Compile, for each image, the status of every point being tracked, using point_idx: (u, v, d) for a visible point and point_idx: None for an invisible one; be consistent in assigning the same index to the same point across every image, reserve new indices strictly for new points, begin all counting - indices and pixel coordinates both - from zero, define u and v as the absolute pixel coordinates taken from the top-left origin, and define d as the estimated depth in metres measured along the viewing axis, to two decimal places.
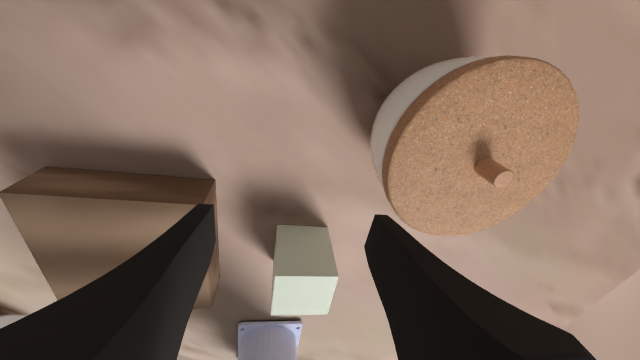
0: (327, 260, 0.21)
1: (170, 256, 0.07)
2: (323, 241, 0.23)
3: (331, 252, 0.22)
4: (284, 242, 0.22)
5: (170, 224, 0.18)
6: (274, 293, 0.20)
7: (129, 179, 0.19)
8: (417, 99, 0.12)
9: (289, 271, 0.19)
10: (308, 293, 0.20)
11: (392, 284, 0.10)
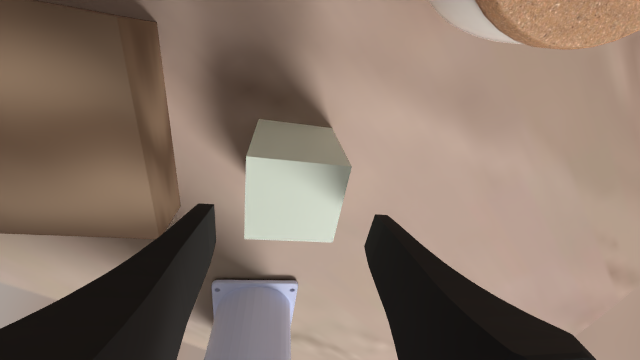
0: (332, 151, 0.13)
1: (170, 256, 0.07)
2: (327, 137, 0.15)
3: (339, 146, 0.14)
4: (267, 131, 0.14)
5: (65, 59, 0.10)
6: (247, 194, 0.12)
7: None
8: None
9: (271, 154, 0.12)
10: (302, 198, 0.13)
11: (392, 284, 0.10)
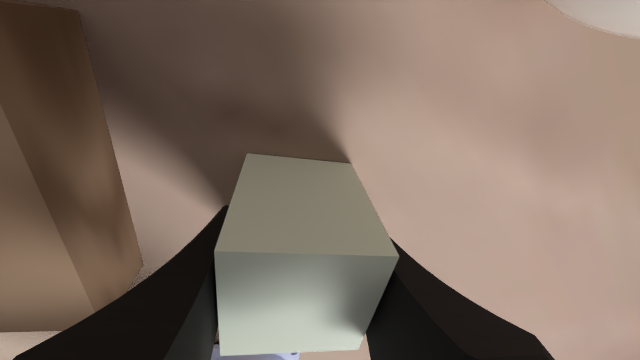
0: (361, 218, 0.08)
1: (209, 257, 0.07)
2: (347, 183, 0.10)
3: (368, 203, 0.09)
4: (258, 180, 0.09)
5: None
6: (221, 303, 0.07)
7: None
8: None
9: (261, 239, 0.07)
10: (313, 302, 0.08)
11: None
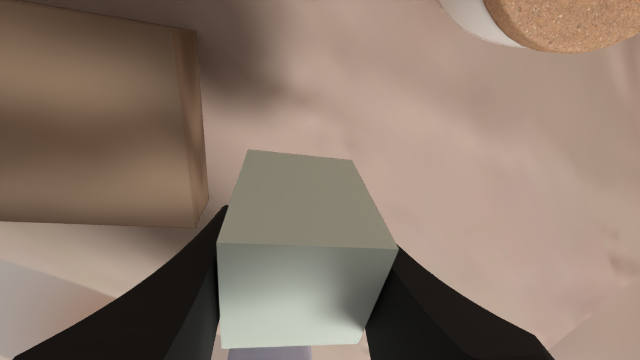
0: (361, 212, 0.08)
1: (209, 257, 0.07)
2: (347, 179, 0.10)
3: (368, 198, 0.09)
4: (259, 175, 0.09)
5: (124, 66, 0.12)
6: (222, 294, 0.07)
7: (65, 9, 0.13)
8: None
9: (262, 231, 0.07)
10: (314, 294, 0.08)
11: None
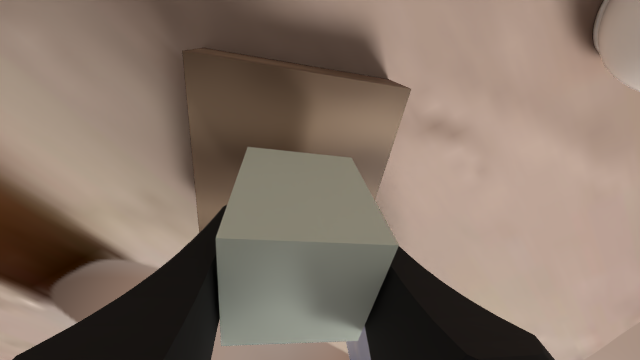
0: (361, 209, 0.08)
1: (209, 257, 0.07)
2: (347, 176, 0.10)
3: (368, 195, 0.09)
4: (259, 172, 0.09)
5: (363, 116, 0.14)
6: (222, 291, 0.07)
7: (303, 66, 0.15)
8: None
9: (262, 227, 0.07)
10: (314, 291, 0.08)
11: None
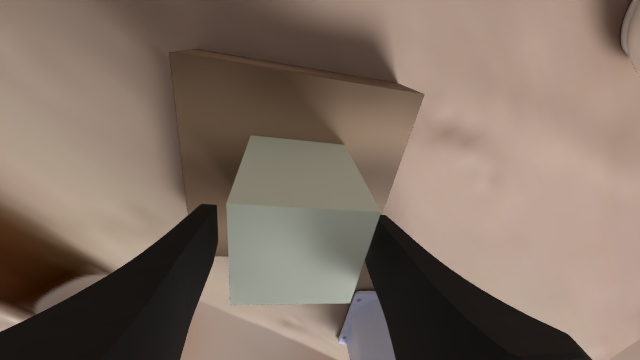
0: (350, 185, 0.10)
1: (174, 256, 0.07)
2: (340, 159, 0.12)
3: (357, 174, 0.11)
4: (261, 155, 0.11)
5: (372, 124, 0.13)
6: (231, 252, 0.08)
7: (305, 69, 0.14)
8: None
9: (264, 197, 0.08)
10: (309, 254, 0.09)
11: (390, 284, 0.10)
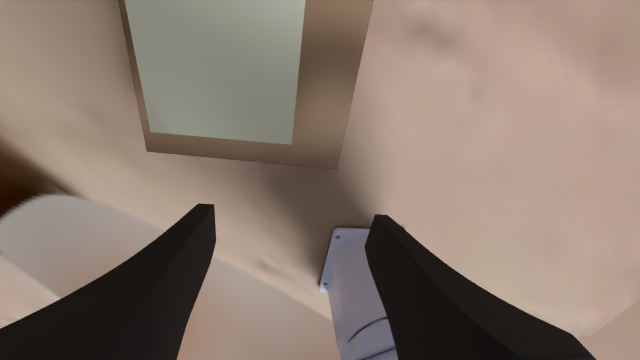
0: None
1: (170, 256, 0.07)
2: None
3: None
4: None
5: None
6: (135, 37, 0.07)
7: None
8: None
9: None
10: (231, 52, 0.08)
11: (392, 284, 0.10)
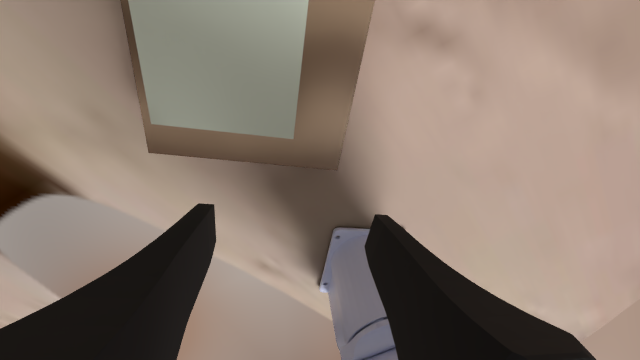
0: None
1: (170, 256, 0.07)
2: None
3: None
4: None
5: None
6: (137, 27, 0.07)
7: None
8: None
9: None
10: (234, 44, 0.08)
11: (392, 284, 0.10)
